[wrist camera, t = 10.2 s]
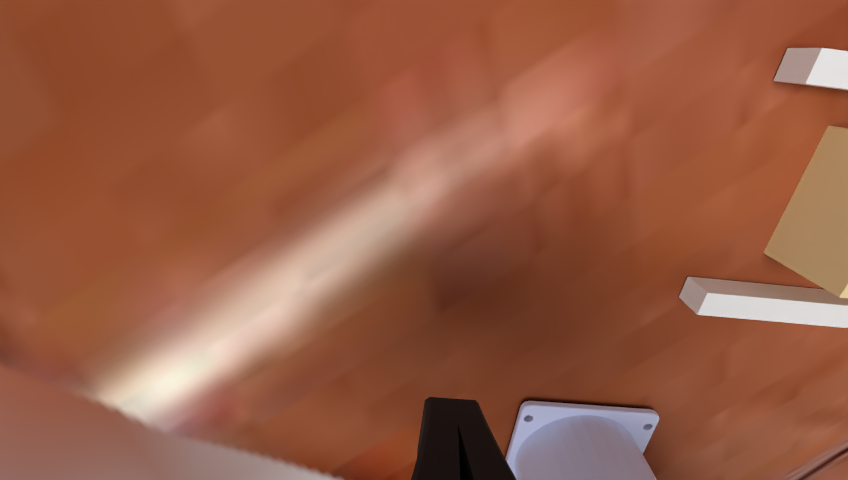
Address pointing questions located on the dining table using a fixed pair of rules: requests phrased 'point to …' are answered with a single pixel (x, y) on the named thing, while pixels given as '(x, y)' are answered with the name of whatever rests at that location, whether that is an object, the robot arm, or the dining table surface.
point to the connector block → (818, 218)
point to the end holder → (767, 298)
